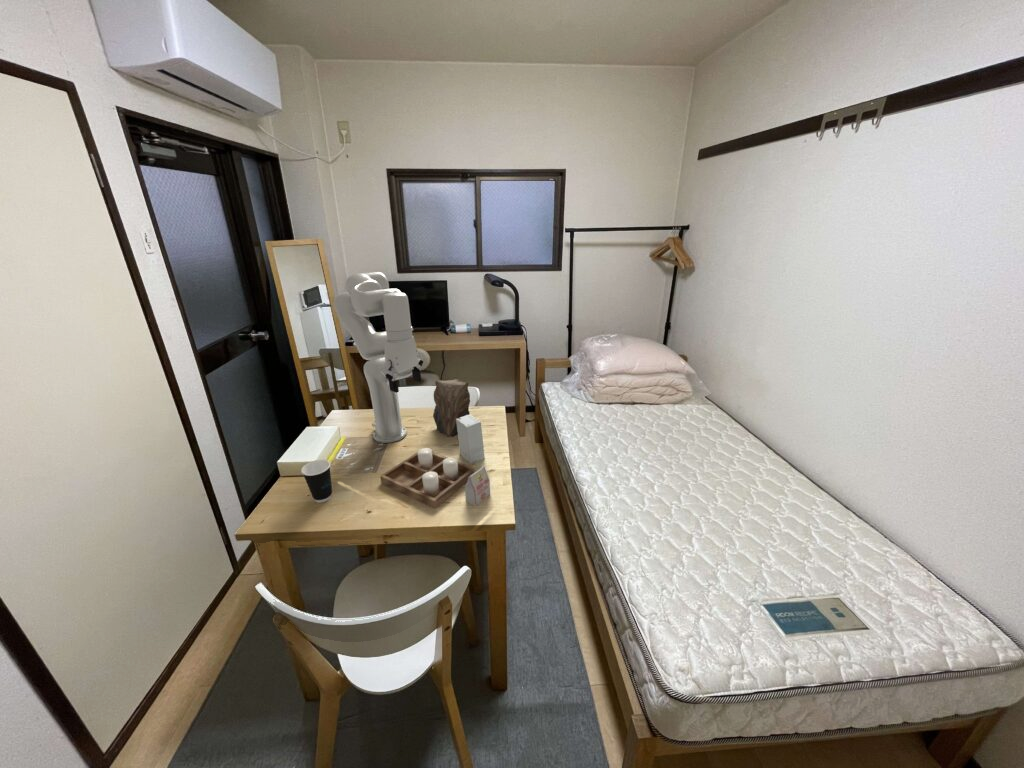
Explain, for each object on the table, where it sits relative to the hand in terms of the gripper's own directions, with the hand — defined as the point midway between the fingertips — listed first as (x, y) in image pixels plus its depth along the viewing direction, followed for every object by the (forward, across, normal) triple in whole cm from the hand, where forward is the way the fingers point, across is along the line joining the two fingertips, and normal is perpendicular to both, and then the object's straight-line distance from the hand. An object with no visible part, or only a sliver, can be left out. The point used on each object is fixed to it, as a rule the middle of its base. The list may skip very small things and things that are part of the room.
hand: (406, 386), depth 130 cm
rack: (+28, +6, +12) cm, 31 cm away
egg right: (+28, +2, +18) cm, 33 cm away
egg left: (+28, +2, +6) cm, 28 cm away
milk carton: (+29, +5, +31) cm, 42 cm away
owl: (+28, -23, -4) cm, 37 cm away
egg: (+28, +10, +18) cm, 34 cm away
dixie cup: (+28, +29, -10) cm, 42 cm away
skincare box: (+28, -12, +15) cm, 34 cm away
